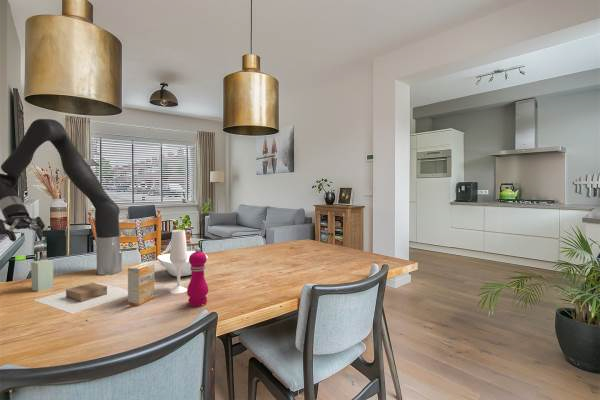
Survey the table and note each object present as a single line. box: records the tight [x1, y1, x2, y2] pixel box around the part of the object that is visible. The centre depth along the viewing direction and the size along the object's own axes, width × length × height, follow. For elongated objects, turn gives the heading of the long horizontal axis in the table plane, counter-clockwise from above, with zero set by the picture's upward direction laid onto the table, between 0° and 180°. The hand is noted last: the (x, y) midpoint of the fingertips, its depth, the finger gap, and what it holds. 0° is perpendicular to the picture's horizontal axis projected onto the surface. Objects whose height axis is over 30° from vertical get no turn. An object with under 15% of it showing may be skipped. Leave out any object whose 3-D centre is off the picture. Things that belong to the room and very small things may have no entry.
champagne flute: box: [169, 229, 188, 295], centre depth 121 cm, size 7×7×24 cm
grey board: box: [33, 282, 128, 315], centre depth 112 cm, size 22×24×1 cm
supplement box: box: [127, 262, 155, 306], centre depth 110 cm, size 8×5×13 cm, turn 168°
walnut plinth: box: [65, 282, 107, 302], centre depth 111 cm, size 9×9×3 cm
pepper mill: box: [186, 247, 209, 307], centre depth 109 cm, size 7×7×20 cm
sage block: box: [30, 258, 54, 293], centre depth 121 cm, size 5×5×11 cm
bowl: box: [157, 250, 209, 278], centre depth 144 cm, size 21×21×9 cm
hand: (28, 238), depth 125 cm, fingers open, 8 cm apart
